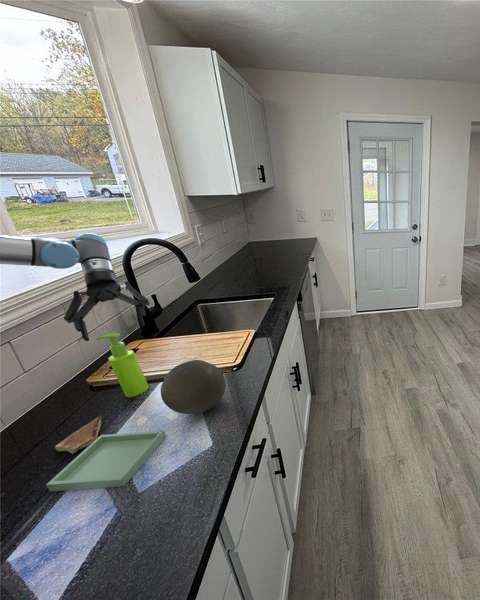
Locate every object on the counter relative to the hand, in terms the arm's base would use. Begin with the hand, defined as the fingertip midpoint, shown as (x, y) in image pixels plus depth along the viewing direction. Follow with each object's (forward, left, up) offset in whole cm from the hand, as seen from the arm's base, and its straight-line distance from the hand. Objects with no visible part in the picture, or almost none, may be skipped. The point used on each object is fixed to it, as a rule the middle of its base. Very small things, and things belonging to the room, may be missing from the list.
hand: (115, 331), depth 97 cm
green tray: (+20, -34, -18) cm, 43 cm away
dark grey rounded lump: (+32, -18, -18) cm, 41 cm away
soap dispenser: (+5, -7, -18) cm, 20 cm away
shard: (+5, -26, -18) cm, 32 cm away
